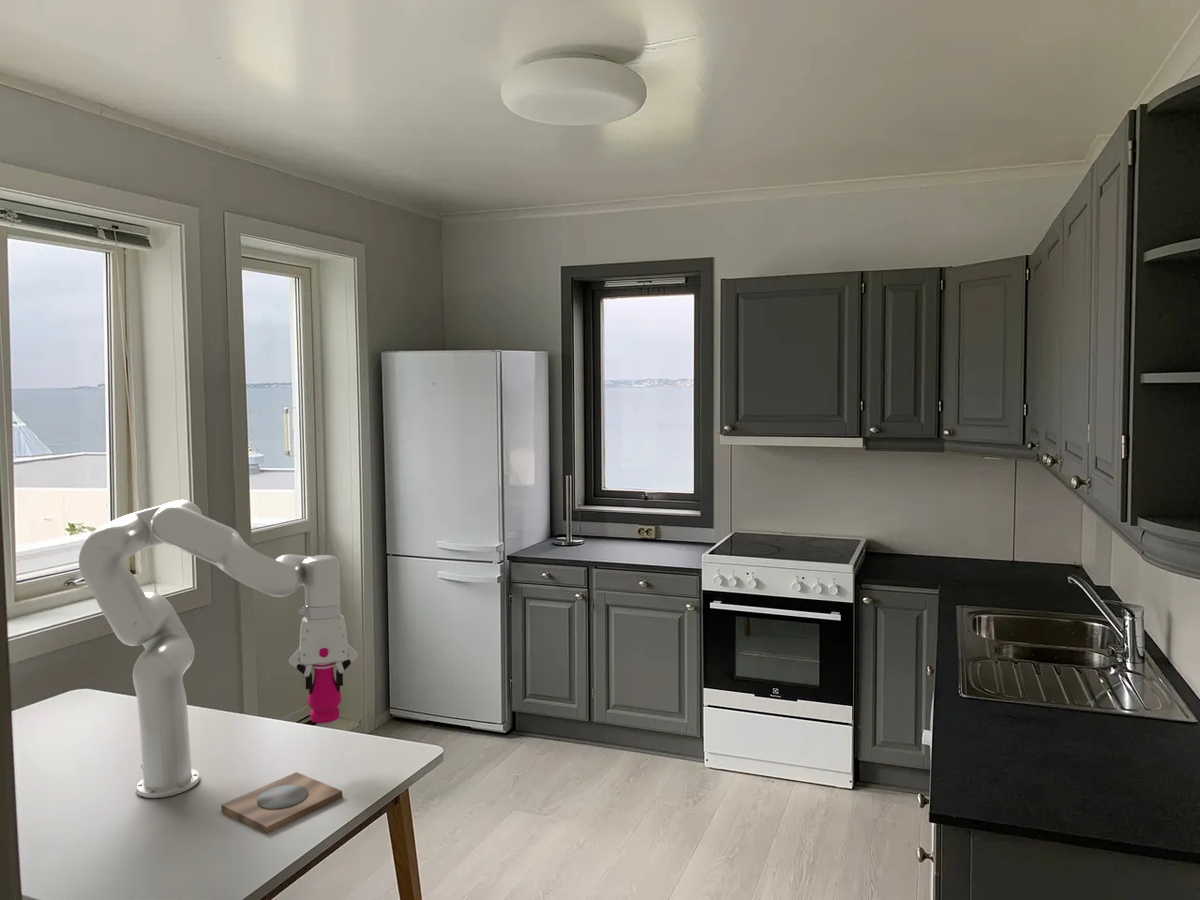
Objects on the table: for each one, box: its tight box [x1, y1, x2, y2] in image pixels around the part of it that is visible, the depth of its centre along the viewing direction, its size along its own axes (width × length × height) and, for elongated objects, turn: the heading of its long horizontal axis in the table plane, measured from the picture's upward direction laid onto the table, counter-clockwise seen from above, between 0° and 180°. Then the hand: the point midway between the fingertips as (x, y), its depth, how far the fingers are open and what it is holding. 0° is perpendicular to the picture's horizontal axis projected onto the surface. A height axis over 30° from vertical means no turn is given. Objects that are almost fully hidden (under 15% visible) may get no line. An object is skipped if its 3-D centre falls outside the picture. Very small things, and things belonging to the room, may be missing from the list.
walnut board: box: [220, 771, 344, 835], centre depth 188 cm, size 16×18×2 cm
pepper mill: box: [307, 648, 342, 724], centre depth 202 cm, size 7×7×20 cm
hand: (324, 689), depth 202 cm, fingers closed on pepper mill, 5 cm apart
